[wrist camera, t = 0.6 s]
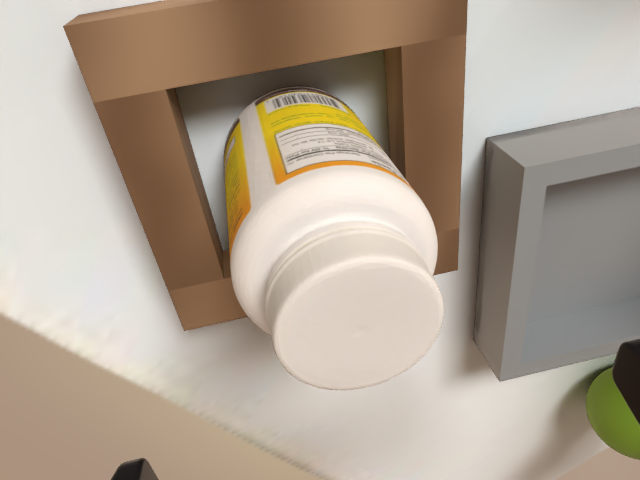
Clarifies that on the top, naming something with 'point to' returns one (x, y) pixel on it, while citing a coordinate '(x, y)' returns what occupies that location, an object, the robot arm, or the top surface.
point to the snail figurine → (612, 416)
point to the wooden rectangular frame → (252, 57)
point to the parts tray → (559, 244)
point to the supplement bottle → (328, 242)
